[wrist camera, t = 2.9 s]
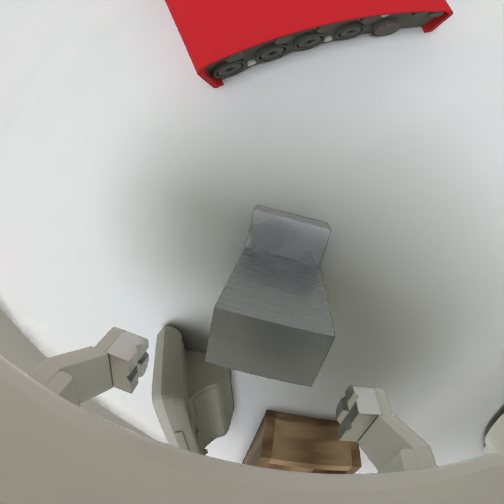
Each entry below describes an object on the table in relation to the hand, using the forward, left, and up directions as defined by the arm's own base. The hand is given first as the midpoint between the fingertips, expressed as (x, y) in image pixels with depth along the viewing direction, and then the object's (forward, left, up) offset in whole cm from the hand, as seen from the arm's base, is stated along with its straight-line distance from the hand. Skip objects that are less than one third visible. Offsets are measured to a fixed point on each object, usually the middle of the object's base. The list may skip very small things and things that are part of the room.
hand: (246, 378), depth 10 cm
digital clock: (+4, +13, -12) cm, 18 cm away
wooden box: (-9, +22, -12) cm, 26 cm away
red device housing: (+3, -23, -12) cm, 26 cm away
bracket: (-1, 0, -12) cm, 12 cm away
